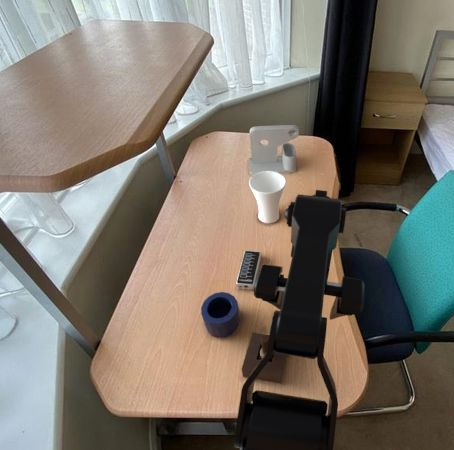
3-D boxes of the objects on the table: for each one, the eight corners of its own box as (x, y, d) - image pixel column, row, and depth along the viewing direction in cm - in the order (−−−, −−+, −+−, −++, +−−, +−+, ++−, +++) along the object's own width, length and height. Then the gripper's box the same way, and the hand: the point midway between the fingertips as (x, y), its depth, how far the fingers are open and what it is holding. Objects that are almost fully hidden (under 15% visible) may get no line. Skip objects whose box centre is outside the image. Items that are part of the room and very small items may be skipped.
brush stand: (281, 383, 66) (281, 376, 63) (243, 376, 67) (241, 369, 64) (288, 346, 72) (288, 338, 69) (253, 340, 72) (252, 331, 70)
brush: (270, 367, 68) (269, 345, 61) (259, 365, 69) (257, 343, 61) (273, 356, 70) (272, 333, 63) (262, 354, 70) (260, 331, 63)
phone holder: (293, 156, 125) (295, 112, 113) (297, 172, 118) (299, 126, 106) (248, 159, 123) (244, 114, 110) (249, 175, 116) (245, 129, 103)
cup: (251, 205, 104) (248, 171, 95) (284, 204, 105) (284, 170, 96) (252, 229, 97) (248, 194, 87) (287, 227, 98) (287, 192, 89)
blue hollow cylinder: (234, 340, 72) (231, 326, 68) (200, 334, 73) (195, 320, 68) (244, 310, 78) (242, 295, 73) (213, 304, 78) (208, 289, 74)
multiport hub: (261, 256, 89) (260, 251, 88) (254, 290, 82) (253, 285, 80) (245, 255, 90) (244, 250, 88) (236, 288, 82) (235, 283, 80)
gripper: (372, 234, 56) (357, 286, 67) (267, 219, 58) (269, 272, 69) (371, 287, 48) (354, 336, 59) (249, 267, 50) (255, 319, 61)
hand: (307, 313), depth 62 cm, fingers open, 9 cm apart
